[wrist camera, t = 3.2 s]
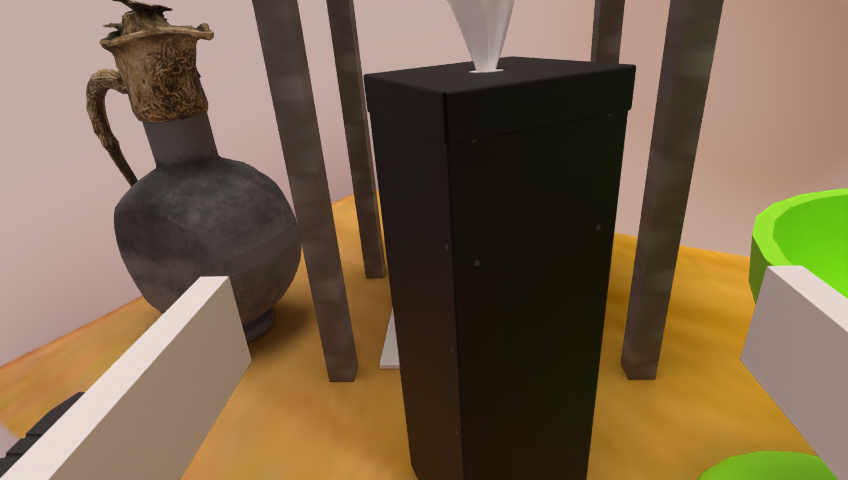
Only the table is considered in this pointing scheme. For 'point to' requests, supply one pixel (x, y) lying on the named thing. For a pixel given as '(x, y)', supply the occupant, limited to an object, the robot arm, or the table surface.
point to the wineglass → (828, 260)
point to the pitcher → (189, 179)
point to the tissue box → (499, 249)
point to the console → (301, 144)
